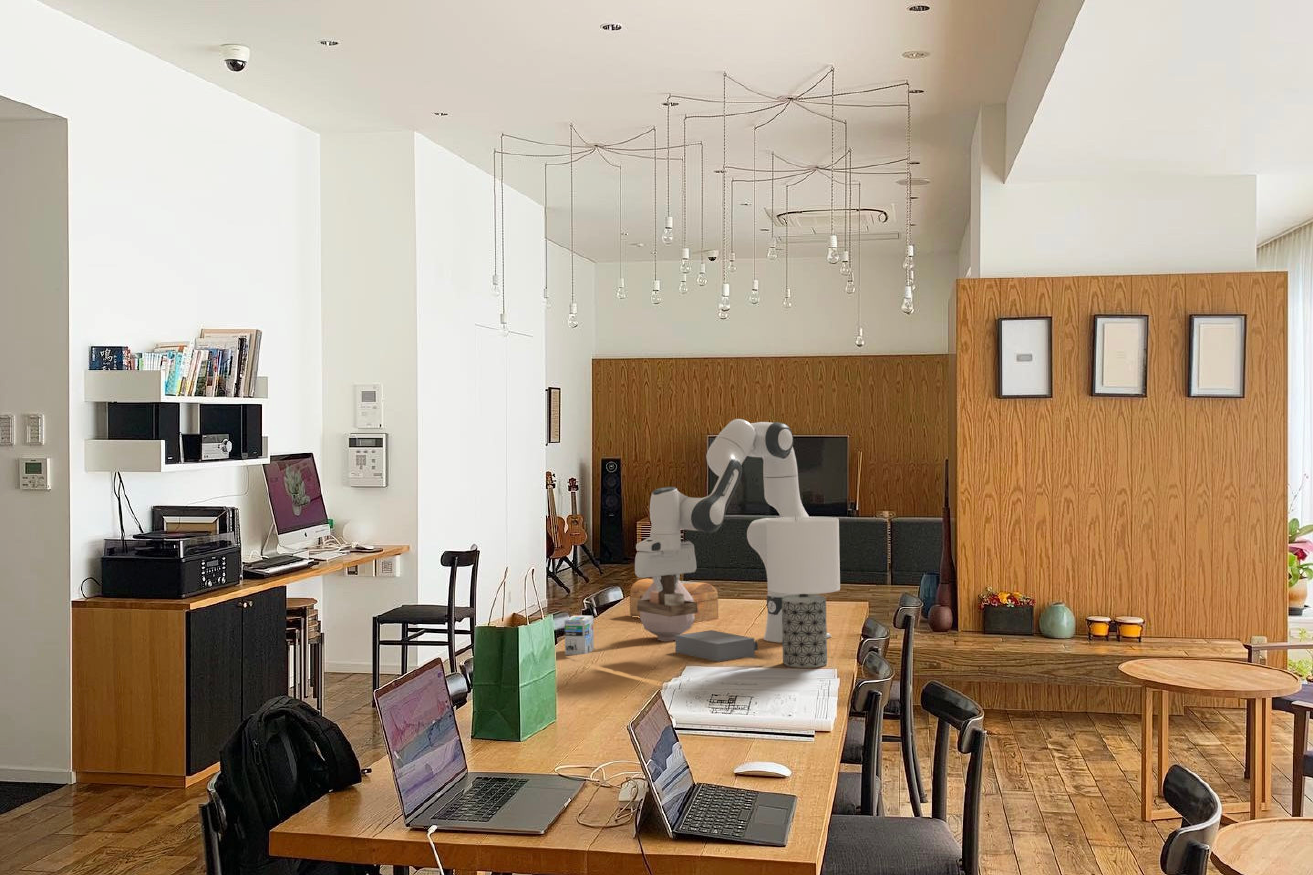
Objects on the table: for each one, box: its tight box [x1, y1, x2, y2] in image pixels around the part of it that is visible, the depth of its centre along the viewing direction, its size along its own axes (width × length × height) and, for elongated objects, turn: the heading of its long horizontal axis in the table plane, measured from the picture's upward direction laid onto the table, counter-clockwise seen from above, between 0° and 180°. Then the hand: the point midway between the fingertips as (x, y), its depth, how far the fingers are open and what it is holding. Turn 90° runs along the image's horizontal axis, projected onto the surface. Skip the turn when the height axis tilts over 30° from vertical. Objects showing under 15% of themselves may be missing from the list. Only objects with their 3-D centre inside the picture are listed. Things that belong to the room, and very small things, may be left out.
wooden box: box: [629, 578, 719, 624], centre depth 428 cm, size 30×16×14 cm, turn 48°
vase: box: [639, 580, 695, 642], centre depth 382 cm, size 18×18×30 cm
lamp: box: [766, 516, 841, 669], centre depth 336 cm, size 21×21×42 cm
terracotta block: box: [650, 591, 659, 604], centre depth 345 cm, size 4×4×4 cm
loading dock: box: [675, 629, 759, 663], centre depth 350 cm, size 15×20×6 cm
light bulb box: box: [564, 614, 595, 656], centre depth 362 cm, size 11×7×11 cm, turn 168°
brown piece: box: [637, 575, 698, 617], centre depth 342 cm, size 10×16×10 cm, turn 36°
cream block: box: [665, 593, 684, 606], centre depth 339 cm, size 4×4×4 cm
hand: (666, 590), depth 342 cm, fingers closed on brown piece, 3 cm apart
